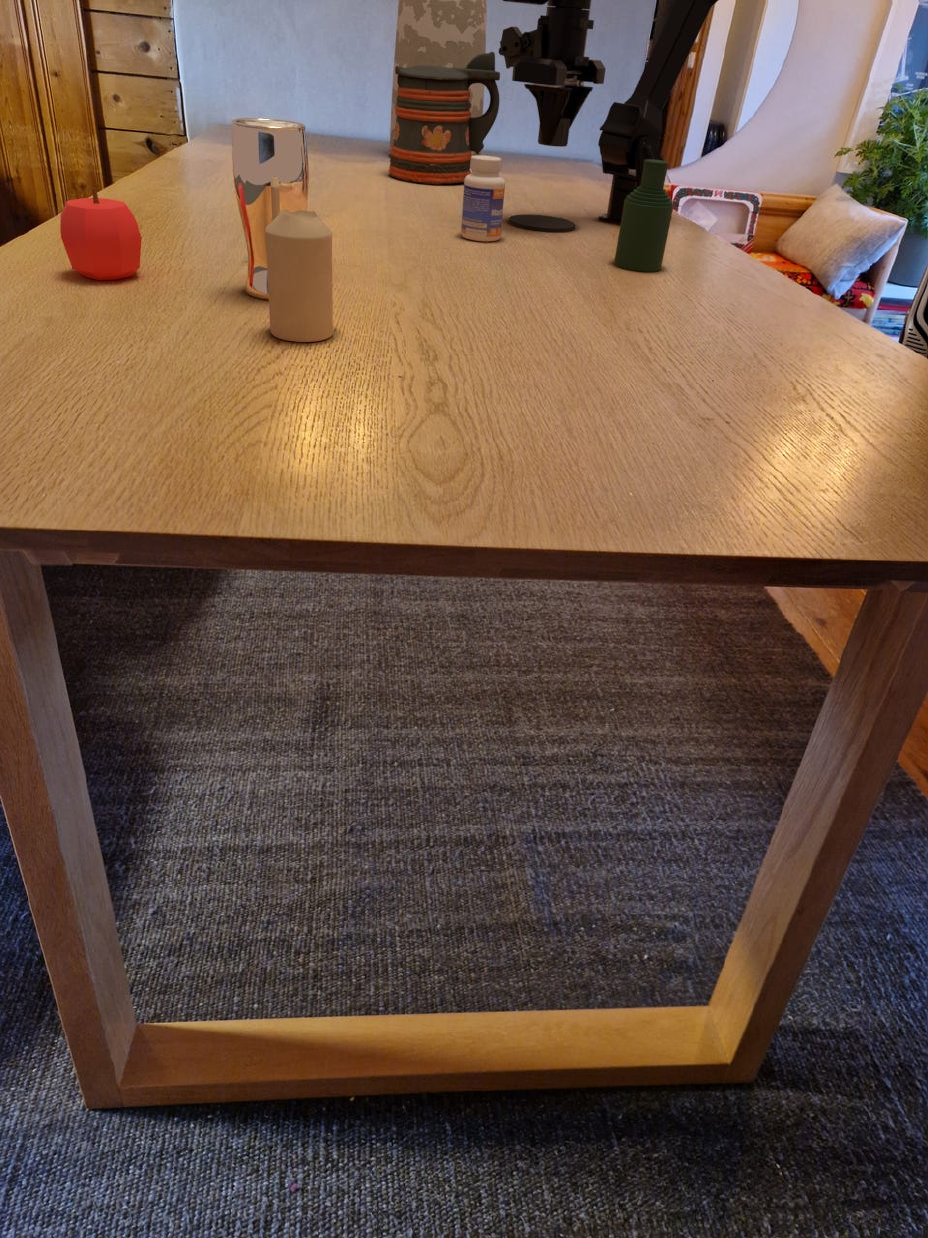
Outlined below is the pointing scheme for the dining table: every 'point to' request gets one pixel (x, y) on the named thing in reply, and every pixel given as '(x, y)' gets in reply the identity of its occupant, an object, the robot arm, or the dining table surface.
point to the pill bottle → (483, 200)
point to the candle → (299, 276)
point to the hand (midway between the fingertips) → (552, 142)
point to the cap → (558, 134)
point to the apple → (101, 237)
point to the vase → (440, 41)
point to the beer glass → (267, 184)
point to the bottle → (645, 221)
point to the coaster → (542, 223)
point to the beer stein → (440, 120)
